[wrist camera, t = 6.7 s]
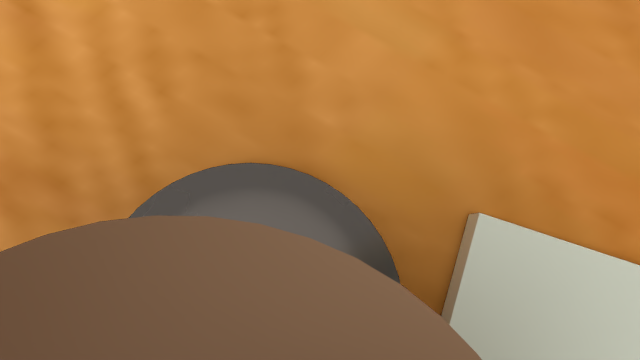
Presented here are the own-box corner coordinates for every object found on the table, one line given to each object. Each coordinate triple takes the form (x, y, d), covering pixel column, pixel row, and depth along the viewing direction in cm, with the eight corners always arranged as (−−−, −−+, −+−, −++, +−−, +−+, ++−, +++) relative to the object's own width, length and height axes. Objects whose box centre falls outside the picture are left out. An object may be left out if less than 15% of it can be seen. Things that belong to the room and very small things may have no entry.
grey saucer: (190, 535, 17) (185, 556, 16) (42, 262, 18) (26, 263, 17) (449, 365, 19) (461, 373, 17) (303, 117, 19) (306, 109, 18)
